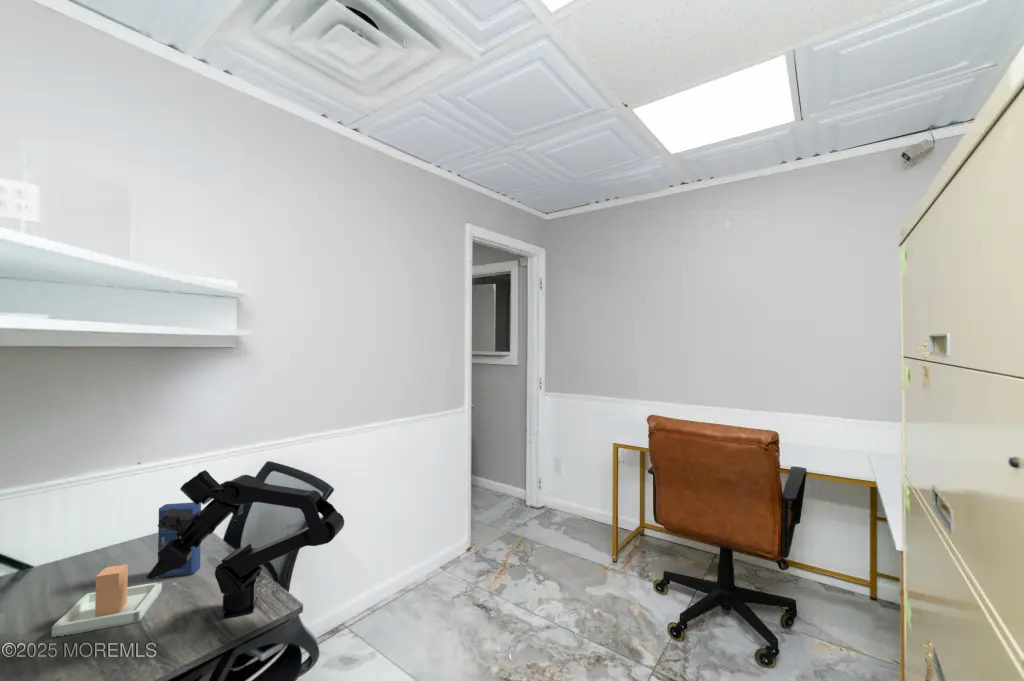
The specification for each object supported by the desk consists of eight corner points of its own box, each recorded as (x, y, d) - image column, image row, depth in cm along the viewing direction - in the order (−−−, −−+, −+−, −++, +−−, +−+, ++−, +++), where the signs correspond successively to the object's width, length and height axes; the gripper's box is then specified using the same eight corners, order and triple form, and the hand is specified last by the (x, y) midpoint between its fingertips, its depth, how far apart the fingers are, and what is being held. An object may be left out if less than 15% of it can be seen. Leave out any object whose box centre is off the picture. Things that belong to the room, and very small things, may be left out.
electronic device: (155, 579, 122) (156, 509, 122) (166, 569, 127) (167, 503, 127) (192, 575, 124) (193, 507, 124) (201, 566, 129) (202, 500, 129)
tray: (161, 590, 116) (162, 581, 116) (138, 622, 103) (138, 611, 103) (86, 603, 111) (86, 593, 111) (51, 638, 98) (51, 627, 98)
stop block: (127, 603, 110) (127, 564, 110) (118, 613, 106) (119, 573, 106) (104, 606, 108) (105, 567, 108) (95, 617, 104) (95, 576, 104)
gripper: (196, 486, 115) (144, 533, 111) (169, 511, 98) (107, 568, 94) (229, 511, 118) (181, 558, 114) (209, 540, 101) (151, 596, 96)
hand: (156, 568), depth 104 cm, fingers open, 9 cm apart
